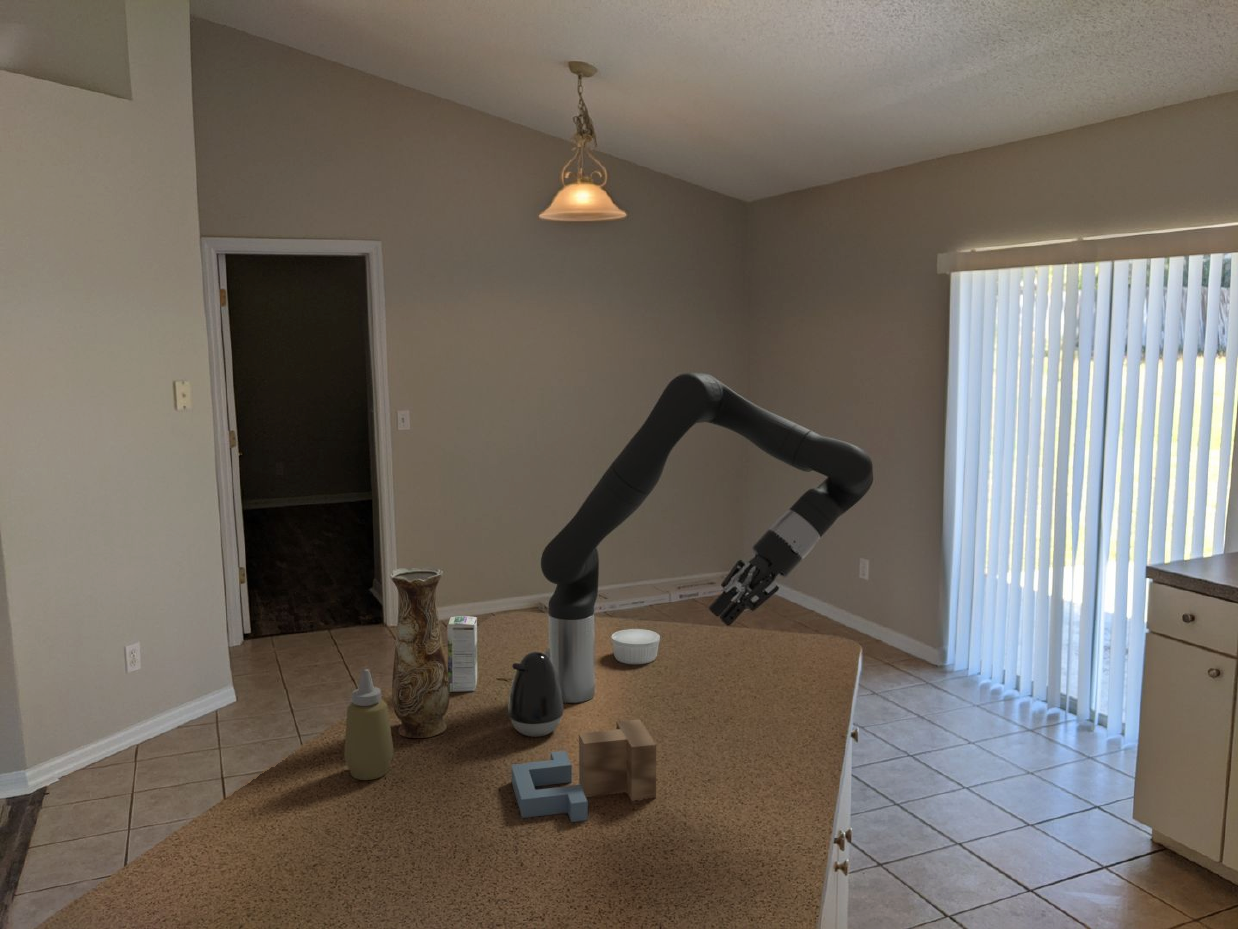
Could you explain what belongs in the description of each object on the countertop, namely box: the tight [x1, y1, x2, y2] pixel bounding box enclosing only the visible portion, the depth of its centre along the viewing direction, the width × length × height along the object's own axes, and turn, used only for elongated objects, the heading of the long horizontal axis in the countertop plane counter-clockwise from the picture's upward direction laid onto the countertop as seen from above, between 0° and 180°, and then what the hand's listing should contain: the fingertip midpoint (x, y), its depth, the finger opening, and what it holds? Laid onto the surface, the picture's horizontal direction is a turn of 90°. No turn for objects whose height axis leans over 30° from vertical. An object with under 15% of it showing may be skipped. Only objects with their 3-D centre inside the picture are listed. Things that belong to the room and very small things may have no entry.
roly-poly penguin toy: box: [507, 651, 564, 738], centre depth 172 cm, size 10×10×15 cm
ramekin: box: [610, 628, 661, 665], centre depth 212 cm, size 11×11×5 cm
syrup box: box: [446, 615, 478, 693], centre depth 194 cm, size 6×6×14 cm
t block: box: [578, 719, 657, 802], centre depth 151 cm, size 11×10×9 cm
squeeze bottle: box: [343, 668, 394, 781], centre depth 155 cm, size 8×8×18 cm
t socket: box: [510, 750, 589, 823], centre depth 148 cm, size 10×18×3 cm, turn 14°
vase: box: [389, 566, 450, 739], centre depth 172 cm, size 10×11×30 cm
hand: (718, 617), depth 156 cm, fingers open, 4 cm apart
